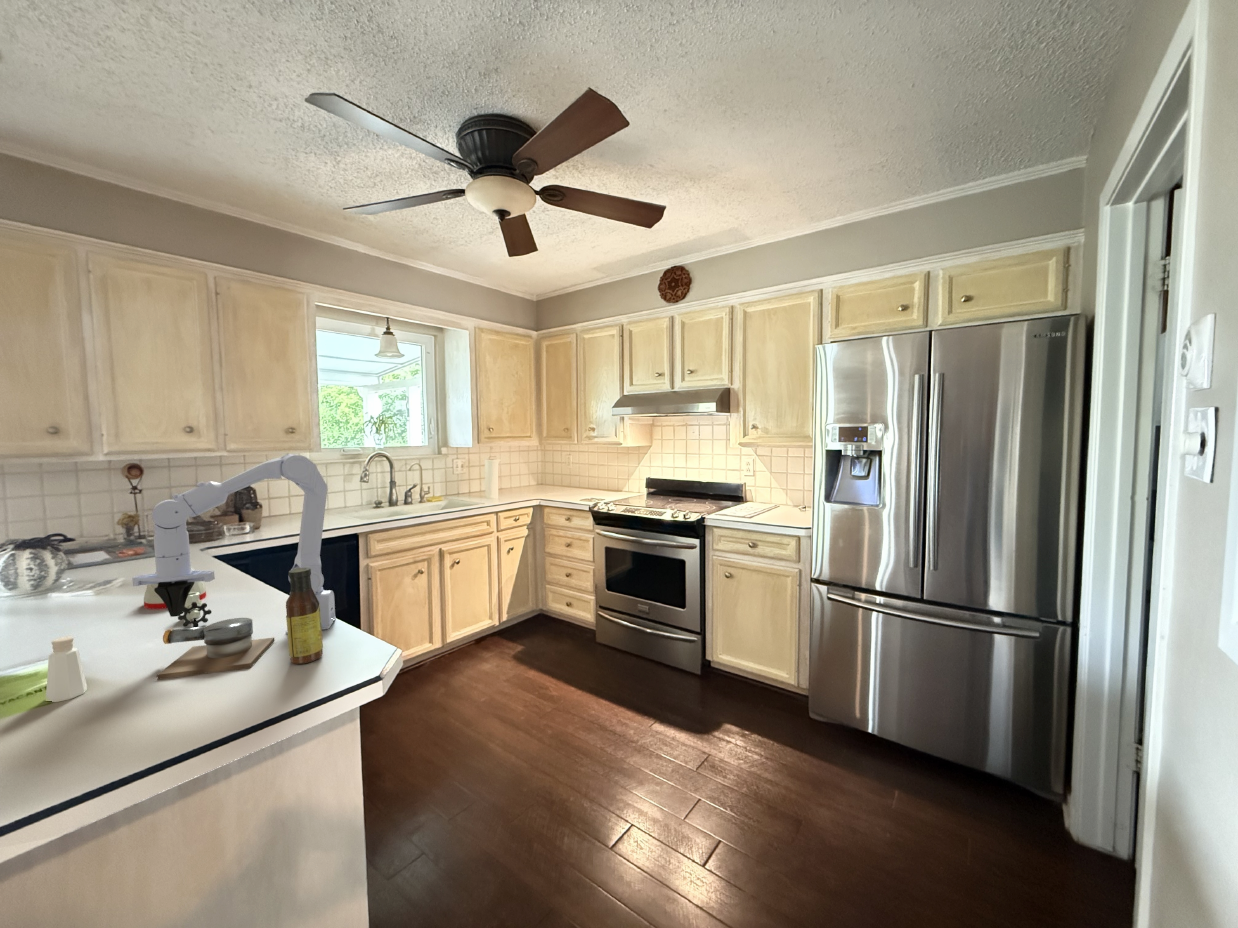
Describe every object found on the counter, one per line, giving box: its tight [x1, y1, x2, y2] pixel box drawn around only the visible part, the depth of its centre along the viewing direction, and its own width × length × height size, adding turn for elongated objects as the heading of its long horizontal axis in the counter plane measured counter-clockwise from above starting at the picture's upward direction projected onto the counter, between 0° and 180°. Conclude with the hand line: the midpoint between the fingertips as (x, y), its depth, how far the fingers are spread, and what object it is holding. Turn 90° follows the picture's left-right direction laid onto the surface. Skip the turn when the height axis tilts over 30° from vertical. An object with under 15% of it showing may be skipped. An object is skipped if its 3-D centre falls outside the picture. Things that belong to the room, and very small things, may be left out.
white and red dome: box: [143, 566, 207, 610], centre depth 149 cm, size 14×14×15 cm
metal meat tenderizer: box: [162, 617, 254, 645], centre depth 111 cm, size 16×9×3 cm, turn 105°
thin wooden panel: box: [156, 634, 275, 680], centre depth 109 cm, size 16×14×4 cm
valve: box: [177, 592, 212, 628], centre depth 132 cm, size 7×7×12 cm
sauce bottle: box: [285, 568, 324, 665], centre depth 109 cm, size 6×6×20 cm
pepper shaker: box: [45, 635, 88, 703], centre depth 94 cm, size 5×5×11 cm
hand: (176, 614), depth 111 cm, fingers closed
